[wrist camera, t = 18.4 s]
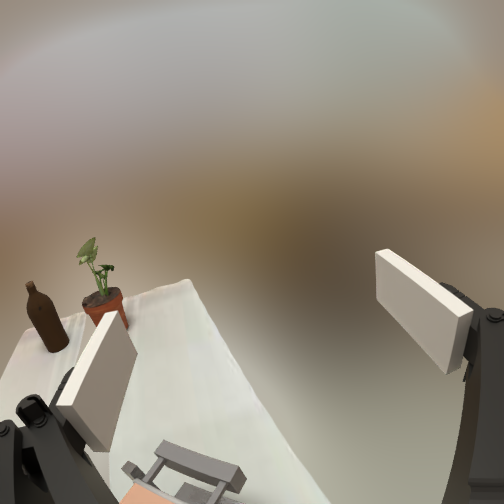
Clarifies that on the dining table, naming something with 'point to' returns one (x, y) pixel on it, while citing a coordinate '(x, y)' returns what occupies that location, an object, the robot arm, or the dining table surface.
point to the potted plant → (100, 289)
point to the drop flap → (191, 464)
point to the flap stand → (187, 491)
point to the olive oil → (46, 319)
